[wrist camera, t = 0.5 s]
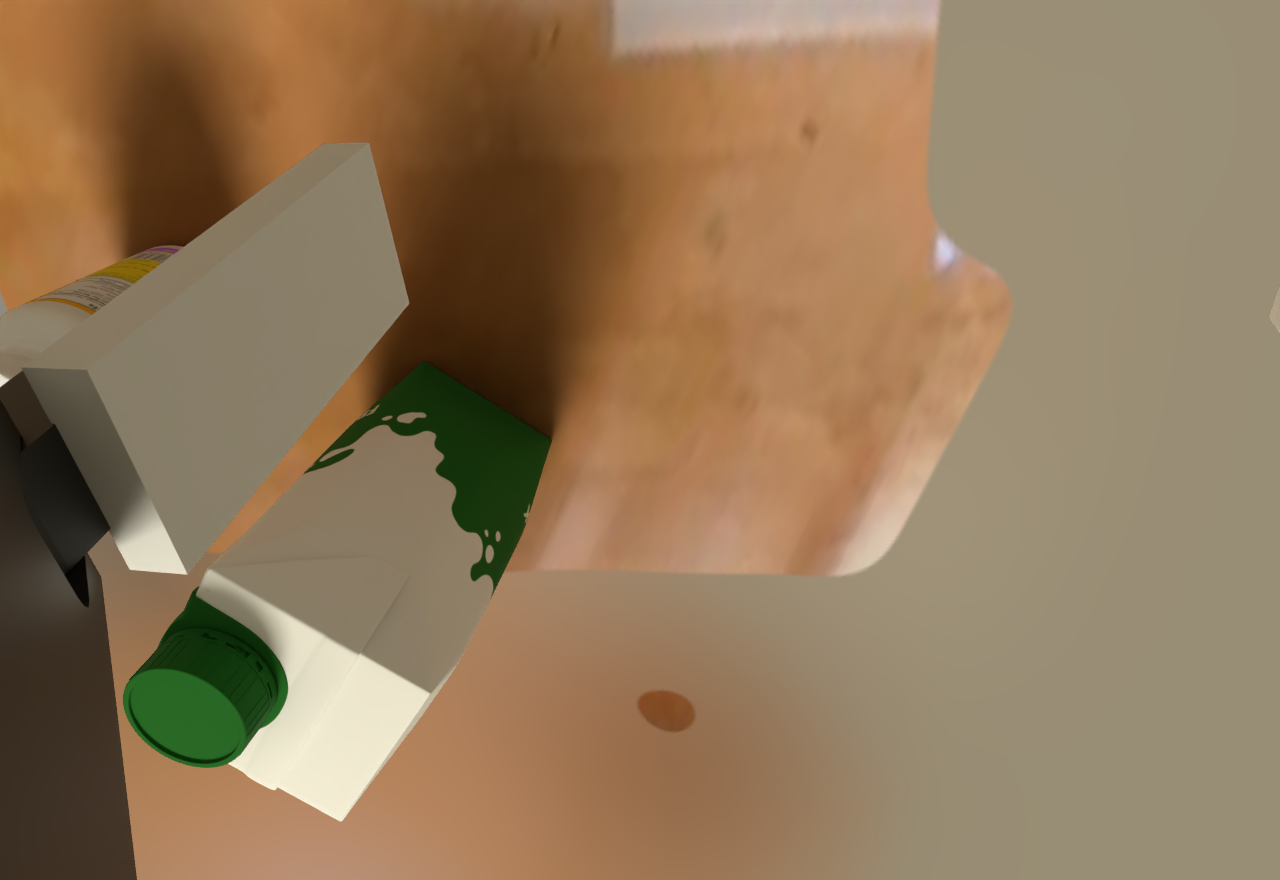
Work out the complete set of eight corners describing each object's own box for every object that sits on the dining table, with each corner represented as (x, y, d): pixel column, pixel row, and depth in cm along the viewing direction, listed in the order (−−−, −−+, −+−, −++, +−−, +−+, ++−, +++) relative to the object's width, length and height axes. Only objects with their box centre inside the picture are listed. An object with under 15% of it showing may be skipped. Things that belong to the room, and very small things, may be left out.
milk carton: (415, 334, 44) (154, 585, 27) (580, 437, 45) (436, 743, 28) (343, 468, 48) (76, 763, 31) (497, 560, 49) (325, 896, 32)
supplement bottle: (195, 395, 48) (4, 533, 36) (101, 284, 46) (-131, 392, 34) (289, 334, 45) (116, 461, 34) (195, 214, 43) (-23, 305, 32)
